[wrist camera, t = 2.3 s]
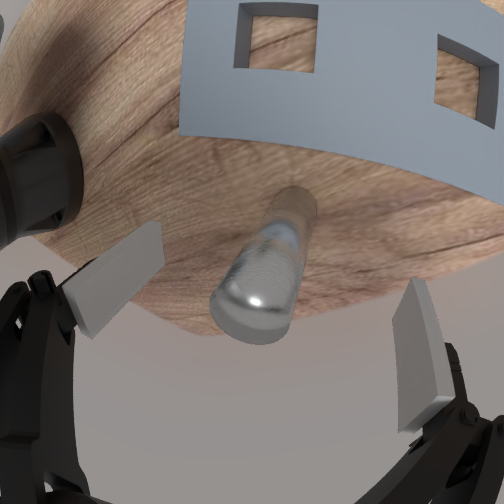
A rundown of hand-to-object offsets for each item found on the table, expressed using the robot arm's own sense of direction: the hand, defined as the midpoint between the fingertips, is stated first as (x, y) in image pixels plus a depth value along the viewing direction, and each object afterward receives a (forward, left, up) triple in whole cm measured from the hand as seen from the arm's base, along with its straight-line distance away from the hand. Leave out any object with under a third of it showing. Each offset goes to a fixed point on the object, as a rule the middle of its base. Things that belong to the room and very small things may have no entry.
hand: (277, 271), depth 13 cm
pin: (0, 0, -8) cm, 8 cm away
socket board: (+4, +12, -8) cm, 15 cm away
